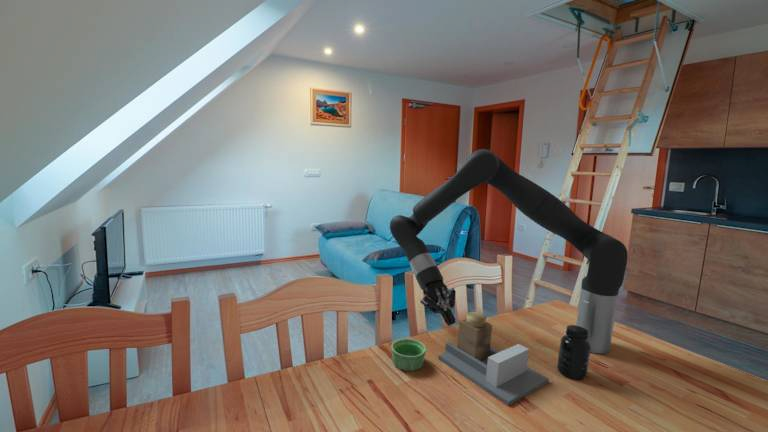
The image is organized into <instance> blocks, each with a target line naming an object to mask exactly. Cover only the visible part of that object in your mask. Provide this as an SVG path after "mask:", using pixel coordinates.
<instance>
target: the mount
mask: <svg viewBox="0 0 768 432" xmlns="http://www.w3.org/2000/svg"><path fill="white" fill-rule="evenodd" d="M444 345H445V347H444V348H445V349H444V350H445V351H446V352H444V353H441V354H438V355H437V356H438V357H437V359H438V360H439V361H441V362H442V363H443V364H446V365H447V366H448V367H450V368H451V369H452V370H454V371H456V372H457V373H459V374H460V375H461V376H463V377H464V378H466V379H467V380H469V381H471V383H474V384H475V385H476V386H478V387H479V388H480V389H482V390H483V391H484V392H486V393H488V394H489V395H491V396H493V397H494V398H495V399H497V400H499V402H501V403H503V404H505V405H506V406H510V405H512V404H514V403H515V402H517V401H519V400H521V399H523V398H524V397H526V396H527V395H529V394H531V393H533V392H534V391H536V390H537V389H540V388H541V387H542V386H544V385H546V384H548V383H549V379H550V378H549V377H547V376H546V375H544V374H541V373H540V372H538V371H536V370H534V369H533V368H531V367H530V366H528V361H529V353H530V348H527V347H526V346H524V345H522V344H519V343H517V344H514V345H512V346H511V347H508V348H505V349H503V350H501V351H499V350H498V349H496V348H494V347H493V346H491V345H490V355H489V357H487V358H485V359H482V360H480V361H479V360H478V359H476V358H474V357H473V356H471V355H469V354H468V353H466V352H464V351H463V350H461V349H459V348H458V346H457V345H454V344H453V343H451V342H449V341H448V342H445V344H444Z"/></svg>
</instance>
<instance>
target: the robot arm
mask: <svg viewBox="0 0 768 432" xmlns="http://www.w3.org/2000/svg"><path fill="white" fill-rule="evenodd" d="M485 183H486V184H488V185H490V186H492V187H493V188H495V189H496V190H497V191H498V192H500V193H502V195H504V196H505V198H507V199H508V200H509V202H511V204H513V206H514V207H516V209H517V210H518V211H520V212H521V214H523V215H525V216H526V217H527V218H529V220H531V221H533V222H534V223H536V225H539V226H540V227H542V228H543V229H545V230H546V231H548V232H551V233H552V234H555V235H556V236H558V237H560V238H562V239H563V240H566V241H567V242H568V243H569V244H570V245H571V246H573V247H574V248H575V249H576V250H578V251H579V253H581V254H582V255H583V256H584V257H585V258H586V259H587V260H588V261H589V262H588V268H587V273H586V276H584V277H583V278H582V280H581V287H580V292H579V293H580V294H579V303H578V309H577V317H576V318H577V319H576V326H580V327H583V328H585V329H587V330H588V339H587V340H588V341H589V343H590V345H591V350H590V353H593V354H599V355H600V354H602V355H603V354H608V353H609V352H610V351H611V347H612V346H611V344H612V338H613V333H614V331H613V330H614V325H615V319H616V313H617V312H616V310H617V306H618V299H619V298H618V297H619V293H620V292H619V291H620V289H621V287H622V286H623V283H624V280H625V279H624V278H625V275H626V270H627V264H628V258H629V257H628V250H627V247H626V245H625V244H624V243H623V242H622V241H621V240H618V239H617V238H616V237H613V236H611V235H609V234H607V233H605V232H603V231H601V230H599V229H598V228H596V227H594V226H592V225H590V224H589V223H587V222H585V221H584V220H583V219H581V217H579V216H578V215H577V214H576V213H575V212H574V210H572V208H570V207H569V206H568V205H566V204H565V203H564V202H563V201H562V200H561V199H559V198H558V197H557V196H556V195H554V194H553V193H551V192H549V191H548V190H547V189H545V188H543V187H542V186H541V185H538V184H537V183H536V182H534V181H532V180H530V179H528V178H527V177H525V176H523V175H521V174H520V173H518V172H517V171H515V170H514V169H513V168H511V167H510V166H509V165H508V164H506V162H504V160H502V159H501V158H500V156H499V157H498V155H497V154H496V153H495V152H493V151H491V150H490V149H487V148H486V149H485V148H480V149H476V150H475V151H473V152H472V153H471V154H470V155H469V156H468V158H467V160H466V162H465V163H464V164H463V165H462V166H461V167H460V168H459V170H458V171H457V172H455V174H454V175H453V176H451V177H450V178H449V179H448V180H446V181H445V182H444V183H442V184H441V185H439V186H438V187H437V188H434V189H433V190H432V191H431V192H429V193H428V194H426V195H425V196H424V197H423V198H422V199H420V200H419V201H418V202H417V203H415V205H414V206H413V208H412V214H411V215H410V216H409V217H408V216H406V215H403V214H402V215H394V216H393V217H392V219H391V220H390V222H389V230H390V233H391V235H392V237H393V239H394V240H395V241H396V243H397V244H398V245H399V247H400V248H401V249H402V250H403V252H404V253H405V256H406V259H407V261H408V262H409V264H410V269H411V270H412V273H413V275H414V277H415V279H416V282H417V284H418V286H419V288H420V290H422V291H423V293H422V294H423V297H422V298H421V299H420V304H422V305H424V306H425V307H426V308H427V309H428V310H430V311H431V312H432V313H433V314H439V315H441V317H442V319H443V321H444V323H445V324H446V325H447V326H449V327H450V326H453V325H454V324H455V323H456V317H455V315H454V314H453V312H452V308H454V307H455V303H456V290H455V289H449V288H448V286H447V285H446V283H444V277H443V275H442V273H441V271H440V269H439V267H438V265H437V263H436V261H435V259H434V257H433V256H432V255H431V253H430V252H429V249H428V247H427V246H426V244H425V242H424V241H423V239H421V238H419V236H418V235H420V233H422V231H423V230H424V229H425V227H427V225H428V224H429V222H431V221H432V220H433V219H435V218H436V217H437V216H438V215H440V214H441V213H442V212H444V211H445V210H446V209H447V208H449V207H450V206H451V205H452V204H453V203H454V202H456V201H457V200H458V199H460V198H461V197H462V196H463V195H465V194H467V193H468V192H470V191H472V190H473V189H474V188H475V189H476V188H477V187H478V186H481V185H482V184H485Z"/></svg>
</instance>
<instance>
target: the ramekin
mask: <svg viewBox="0 0 768 432" xmlns="http://www.w3.org/2000/svg"><path fill="white" fill-rule="evenodd" d="M426 352H427V347H426V346H425V344H424V343H423V342H421V341H419V340H417V339H412V338H402V339H397V340H395V341H394V342H393V343H391V354H392V355H391V356H392V362H393V365H394V366H395V367H396V368H398V369H400V370H402V371H408V372H411V371H413V372H414V371H417V370H419V369H421V368H422V367H423V366H424V360H425V356H426V355H425V354H426Z"/></svg>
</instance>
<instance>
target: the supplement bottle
mask: <svg viewBox="0 0 768 432" xmlns="http://www.w3.org/2000/svg"><path fill="white" fill-rule="evenodd" d="M587 339H588V330H587V329H585V328H583V327H580V326H576V325H574V324H570V325H568V326H566V330H565V334H564V335H563V336H562V337H561V339H560V343H559V349H558V350H559V352H558V356H557V357H558V359H557V365H556V366H557V367H556V368H557V370H558V372H559V373H560V374H561V375H562V376H564V377H566V378H568V379H571V380H576V381H583V380H584V379H586V378H587V376H588V372H589V371H588V370H589V364H590V355H591V352H590V350H591V345H590V343H589V341H588V340H587Z"/></svg>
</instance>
